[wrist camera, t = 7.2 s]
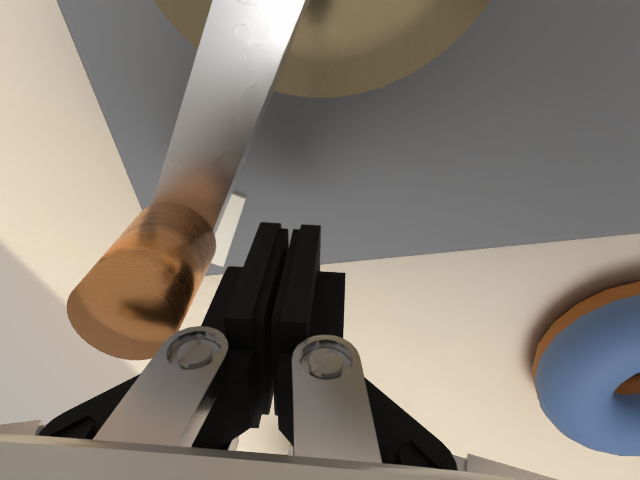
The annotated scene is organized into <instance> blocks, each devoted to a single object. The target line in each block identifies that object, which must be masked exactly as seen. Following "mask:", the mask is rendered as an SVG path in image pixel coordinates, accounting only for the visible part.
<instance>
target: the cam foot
mask: <svg viewBox="0 0 640 480" xmlns="http://www.w3.org/2000/svg"><path fill="white" fill-rule="evenodd" d="M490 1H491V0H154V2H155V3H156V4H157V6H158V7H159V9H160V10H161V12H162V13H163V14H164V15H165V16H166V17H167V19H168V20H169V21H170V22H171V23H172V24H173V26H174V27H175V28H176V29H177V30H178V31H179V33H180V34H181V35H182V36H184V37H185V38H186V39H187V40H188V41H189V42H190V43H191V44H192V45H193V46H194V47H195V48H196V49H197V50H198V51H197V54H196V58H195V61H194V64H193V68H192V71H191V74H190V78H189V81H188V84H187V88H186V91H185V94H184V98H183V101H182V104H181V108H180V111H179V114H178V118H177V121H176V125H175V128H174V131H173V135H172V138H171V141H170V145H169V148H168V151H167V155H166V158H165V161H164V165H163V168H162V171H161V175H160V178H159V182H158V185H157V188H156V192H155V195H154V198H153V202H152V205H151V206H149V207H147V208H145V209H144V210H143V211H142V212H141V213H140V214H139V215H138V216H137V217H136V218H135V220H134V221H133V222H132V223H131V224H130V225H129V227H128V228H127V229H126V230H125V231H124V232H123V233H122V235H121V236H120V237H119V238H118V239H117V240H116V242H115V243H114V244H113V245H112V246H111V247H110V248H109V250H108V251H107V252H106V253H105V254H104V255H103V256H102V258H101V259H100V260H99V261H98V262H97V263H96V265H95V266H94V267H93V268H92V269H91V270H90V271H89V273H88V274H87V275H86V276H85V277H84V278H83V280H82V281H81V282H80V283H79V284H78V285H77V286H76V288H75V289H74V290H73V291H72V292H71V294H70V296H69V298H68V301H67V313H68V317H69V320H70V322H71V324H72V326H73V328H74V329H75V330H76V332H77V333H78V334H79V335H80V336H81V337H82V338H83V339H84V340H85V341H86V342H87V343H89V344H90V345H91V346H93V347H94V348H96V349H98V350H99V351H102V352H104V353H106V354H108V355H111V356H114V357H117V358H121V359H127V360H146V359H151V358H153V357H154V355H155V354H156V353H157V351H158V350H159V349H160V347H161V346H162V345H163V343H164V342H165V341H166V340H167V339H168V338H169V337H170V336H172V335H173V334H175V333H177V332H178V331H179V328H180V326H181V324H182V322H183V320H184V318H185V316H186V314H187V312H188V310H189V308H190V305H191V303H192V301H193V299H194V297H195V295H196V293H197V291H198V289H199V287H200V285H201V282H202V280H203V278H204V276H205V274H206V272H207V270H208V268H209V266H210V264H211V262H212V259H213V257H214V255H215V252H216V239H215V234H216V232H217V229H218V227H219V224H220V222H221V219H222V217H223V214H224V212H225V209H226V207H227V204H228V202H229V199H230V197H231V194H232V192H233V190H234V187H235V185H236V182H237V180H238V177H239V175H240V172H241V170H242V167H243V165H244V162H245V160H246V157H247V155H248V152H249V150H250V147H251V145H252V142H253V140H254V138H255V135H256V133H257V130H258V128H259V125H260V123H261V120H262V118H263V115H264V113H265V110H266V108H267V105H268V103H269V100H270V98H271V95H272V93H273V91H275V92H279V93H283V94H287V95H293V96H301V97H309V98H335V97H342V96H349V95H356V94H360V93H364V92H367V91H371V90H375V89H378V88H381V87H384V86H386V85H388V84H391V83H393V82H396V81H398V80H400V79H403V78H404V77H406V76H408V75H410V74H411V73H413V72H415V71H417V70H418V69H420V68H422V67H424V66H425V65H427V64H428V63H429V62H431V61H432V60H433V59H435V58H436V57H437V56H439V55H440V54H441V53H443V52H444V51H445V50H447V49H448V48H449V47H450V46H451V45H452V44H453V43H454V42H455V41H456V40H457V39H458V38H459V37H460V36H461V35H462V34H463V33H465V32H466V31H467V30H468V29H469V27H470V26H471V25H472V24H473V23H474V21H475V20H476V19H477V18H478V17H479V15H480V14H481V13H482V12H483V11H484V10H485V8H486V7H487V6H488V4H489V3H490Z"/></svg>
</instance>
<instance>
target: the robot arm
mask: <svg viewBox="0 0 640 480" xmlns="http://www.w3.org/2000/svg"><path fill="white" fill-rule="evenodd" d="M320 248H321V225H306V224H301V227H300V229H293V232H292V236H291V240H290V244H289V234H288V229H285V228H282V227H281V223H270V222H260V224H259V227H258V230H257V232H256V235H255V237H254V240H253V243H252V245H251V248H250V250H249V253H248V256H247V258H246V261H245V263H244V266H243V267H238V266H228V267H227V269H226V270H225V273H224V275H223V277H222V280H221V282H220V284H219V286H218V289H217V291H216V293H215V295H214V298H213V300H212V302H211V305H210V307H209V309H208V311H207V314H206V316H205V318H204V321H203V323H202V325H201V326H197V327H190V328H187V329H184V330H181V331H178V332H177V333H175V334H173V335H172V336H170V337H169V338H168V339H167V340H166V341H165V342H164V343H163V345H162V346H161V347H160V349H159V350H158V351H157V353H156V354H155V355H154V357H153V358H152V359H151V361H150V362H149V364H148V365H147V366H146V368H145V369H144V370H143V372H142V373H141V374H139V375H137V376H135V377H133V378H132V379H129V380H127V381H126V382H123V383H122V384H120V385H118V386H116V387H114V388H112V389H110V390H108V391H106V392H104V393H102V394H100V395H98V396H96V397H94V398H92V399H90V400H88V401H86V402H84V403H82V404H80V405H78V406H76V407H74V408H72V409H70V410H68V411H66V412H64V413H63V414H61V415H59V416H58V417H56V418H54V419H53V420H52V421H51V422H49V423H48V424H47V425H43V423H42V421H41V420H35V421H28V422H19V423H11V424H3V425H0V480H557V479H554V478H550V477H547V476H543V475H540V474H536V473H533V472H530V471H526V470H523V469H519V468H516V467H512V466H509V465H505V464H502V463H499V462H495V461H492V460H488V459H485V458H481V457H478V456H475V455H471V454H467V457H466V459H465V458H462V457H459V456H455V455H452V454H451V452H450V451H449V449H448V448H447V447H446V446H445V445H444V444H443V443H442V442H441V441H440V440H439V439H437V438H436V437H435V436H434V435H433V434H431V433H430V432H429V431H428V430H427V429H425V428H424V427H423V426H422V425H421V424H419V423H418V422H417V421H416V420H415V419H414V418H412V417H411V416H410V415H409V414H408V413H406V412H405V411H404V410H403V409H402V408H400V407H399V406H398V405H397V404H396V403H394V402H393V401H392V400H391V399H390V398H388V397H387V396H386V395H385V394H384V393H383V392H381V391H380V390H379V389H378V388H377V387H375V386H374V385H373V384H372V383H371V382H369V381H368V380H367V379H366V378H365V377H364V375H363V370H362V365H361V360H360V356H359V354H358V352H357V349H356V348H355V347H354V346H353V345H352V344H351V343H350V342H348V341H346V340H345V339H343V327H344V299H345V273H337V272H321V271H320ZM273 393H274V410H275V415H278V426H279V430H280V431H281V433H282V434H283V435H284V436H285V437H286V438H287V439H288V440H289V442H290V443H291V444H292V445H293V456H291V455H279V454H267V453H255V452H242V451H236V450H237V446H238V442H239V437H238V436H239V435H241V434H242V433H244V432H245V431H246V430H248V429H249V428H259V423H260V419H261V414H265V415H269V413H270V408H271V403H272V398H273Z"/></svg>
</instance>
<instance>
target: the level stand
mask: <svg viewBox="0 0 640 480" xmlns="http://www.w3.org/2000/svg"><path fill="white" fill-rule="evenodd" d="M57 2H58V5H59V7H60V10H61V12H62V15H63V17H64V20H65V22H66V24H67V27H68V29H69V32H70V34H71V37H72V39H73V42H74V44H75V46H76V49H77V51H78V54H79V56H80V59H81V61H82V64H83V66H84V69H85V71H86V73H87V76H88V78H89V81H90V83H91V86H92V88H93V91H94V93H95V95H96V98H97V100H98V103H99V105H100V108H101V110H102V113H103V115H104V118H105V120H106V122H107V125H108V127H109V130H110V132H111V135H112V137H113V140H114V142H115V144H116V147H117V149H118V152H119V154H120V157H121V159H122V162H123V164H124V167H125V169H126V171H127V174H128V176H129V179H130V181H131V184H132V186H133V189H134V191H135V193H136V196H137V198H138V201H139V203H140V206H141V208H142V211H143V210H144V209H145V208H147V207H149V206H151V205H152V202H153V198H154V195H155V192H156V188H157V185H158V182H159V178H160V175H161V171H162V168H163V165H164V161H165V158H166V155H167V151H168V148H169V145H170V141H171V138H172V135H173V131H174V128H175V125H176V121H177V118H178V114H179V111H180V108H181V104H182V101H183V98H184V94H185V91H186V88H187V84H188V81H189V78H190V74H191V71H192V68H193V64H194V61H195V58H196V54H197V51H198V50H197V49H196V48H195V47H194V46H193V45H192V44H191V43H190V42H189V41H188V40H187V39H186V38H185V37H184V36H182V35H181V34H180V33H179V31H178V30H177V29H176V28H175V27H174V26H173V24H172V23H171V22H170V21H169V20H168V19H167V17H166V16H165V15H164V14H163V13H162V12H161V10H160V9H159V7H158V6H157V4H156V3H155V2H154V0H57ZM260 222H270V223H281V227H282V228H285V229H288V234H289V244H290V240H291V236H292V232H293V229H300V227H301V224H306V225H321V248H320V265H321V264H331V263H341V262H351V261H361V260H372V259H382V258H392V257H402V256H412V255H423V254H433V253H443V252H453V251H463V250H474V249H484V248H494V247H504V246H514V245H524V244H535V243H545V242H555V241H565V240H575V239H586V238H596V237H606V236H616V235H626V234H637V233H640V0H491V1H490V3H489V4H488V6H487V7H486V8H485V10H484V11H483V12H482V13H481V14H480V15H479V17H478V18H477V19H476V20H475V21H474V23H473V24H472V25H471V26H470V27H469V29H468V30H467V31H466V32H465V33H463V34H462V35H461V36H460V37H459V38H458V39H457V40H456V41H455V42H454V43H453V44H452V45H451V46H450V47H449V48H448V49H447V50H445V51H444V52H443V53H441V54H440V55H439V56H437V57H436V58H435V59H433V60H432V61H431V62H429V63H428V64H427V65H425V66H424V67H422V68H420V69H418V70H417V71H415V72H413V73H411V74H410V75H408V76H406V77H404V78H403V79H400V80H398V81H396V82H393V83H391V84H388V85H386V86H384V87H381V88H378V89H375V90H371V91H367V92H364V93H360V94H356V95H349V96H342V97H335V98H309V97H301V96H293V95H287V94H283V93H279V92H275V91H273V93H272V95H271V98H270V100H269V103H268V105H267V108H266V110H265V113H264V115H263V118H262V120H261V123H260V125H259V128H258V130H257V133H256V135H255V138H254V140H253V142H252V145H251V147H250V150H249V152H248V155H247V157H246V160H245V162H244V165H243V167H242V170H241V172H240V175H239V177H238V180H237V182H236V185H235V187H234V190H233V192H232V194H231V197H230V199H229V202H228V204H227V207H226V209H225V212H224V214H223V217H222V219H221V222H220V224H219V227H218V229H217V232H216V234H215V239H216V252H215V255H214V257H213V259H212V262H211V264H210V266H209V268H208V270H207V272H206V274H205V276H208V275H219V274H224V273H225V270H226V269H227V267H228V266H238V267H243V266H244V263H245V261H246V258H247V256H248V253H249V250H250V248H251V245H252V243H253V240H254V237H255V235H256V232H257V230H258V227H259V224H260Z"/></svg>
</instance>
